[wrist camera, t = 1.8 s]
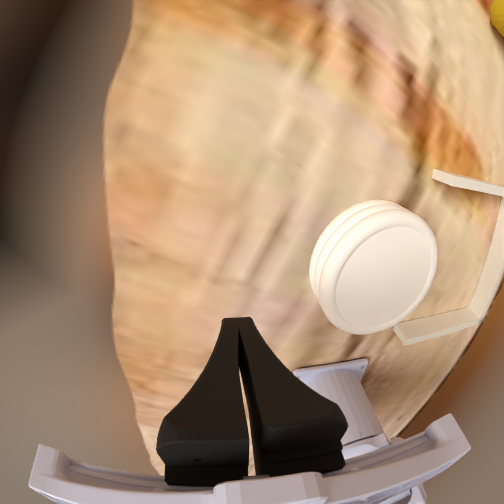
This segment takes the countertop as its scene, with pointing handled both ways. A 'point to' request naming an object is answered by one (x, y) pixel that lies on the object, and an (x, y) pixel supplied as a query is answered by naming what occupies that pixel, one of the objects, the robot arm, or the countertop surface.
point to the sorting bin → (498, 258)
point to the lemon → (497, 15)
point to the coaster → (373, 266)
